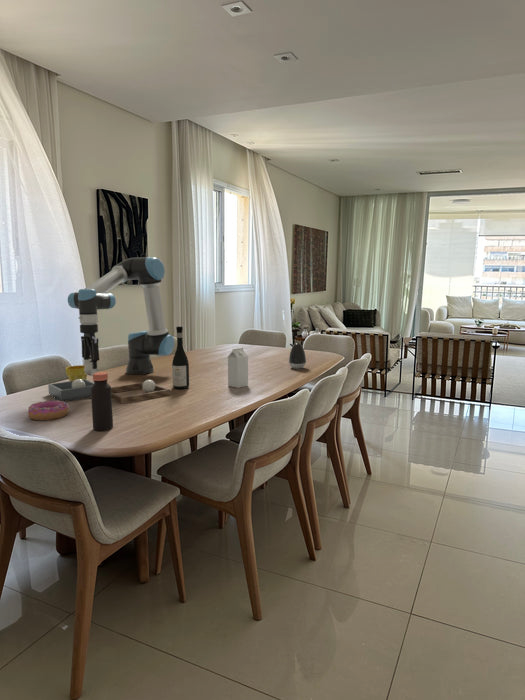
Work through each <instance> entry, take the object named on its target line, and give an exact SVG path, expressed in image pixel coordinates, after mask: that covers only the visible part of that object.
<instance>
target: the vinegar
mask: <svg viewBox="0 0 525 700" xmlns="http://www.w3.org/2000/svg"><path fill="white" fill-rule="evenodd" d="M108 379H109V375H108V372H105V371H98V372H97V373H94V374H93V376H92V380H93V382H94V385H93V386H92V387H91V397H90V399H91V414H92V416H91V417H92V429H93V430H94V431H95V432H105V431H109V430H112V429H113V427H114V417H113V415H114V414H113V400H112V395H111V387H112V386H111V385H110V384H109V383H108V381H109V380H108Z"/></svg>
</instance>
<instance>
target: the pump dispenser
mask: <svg viewBox="0 0 525 700" xmlns="http://www.w3.org/2000/svg"><path fill="white" fill-rule="evenodd" d="M289 345H290V346H291V349H290V353H289V357H288V363H289V366H290V368H292V369H294V370H300V369H303V368H304V367H305V366H306V363H307V357H306V356H307V355H306V353H305V348H304V347H303V345H302V344H301V343H300V342H295V343H294V344H293V343H289Z"/></svg>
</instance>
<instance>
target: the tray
mask: <svg viewBox="0 0 525 700" xmlns="http://www.w3.org/2000/svg"><path fill="white" fill-rule="evenodd" d="M142 385H143V382H139V383H130V384H125V385H119V386H111V395H112V401H115V402H117V403H119V404H128V403H133V402H138V401H143V400H144V401H146V400H150V399H155V398H160V397H166V396H171V389H170V388H166V387H164V386H160V385H158V384H155V389H154V391H152V392H144V393H139V394H133V395H132V394H131V395H128V396H121V395H119V394H116V393H119V392H121V391H122V392H127V391H126V390H128V391H132V390H133V389H134V390H139V389H143V388H142ZM134 390H133V391H134ZM122 392H121V393H122Z"/></svg>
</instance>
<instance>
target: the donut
mask: <svg viewBox="0 0 525 700" xmlns="http://www.w3.org/2000/svg"><path fill="white" fill-rule="evenodd" d="M68 412H69V406H68V404H67V401H59V400H57V399H56V400H52V399H51V400H44V401H39V402H35V403H32V404H31V405H30V406H28V410H27V415H28V418H29V419H30V420H34V421H41V422H42V421H51V420H52V421H53V420H57V419H61V418H63V417H65V416H67V415H68Z"/></svg>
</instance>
